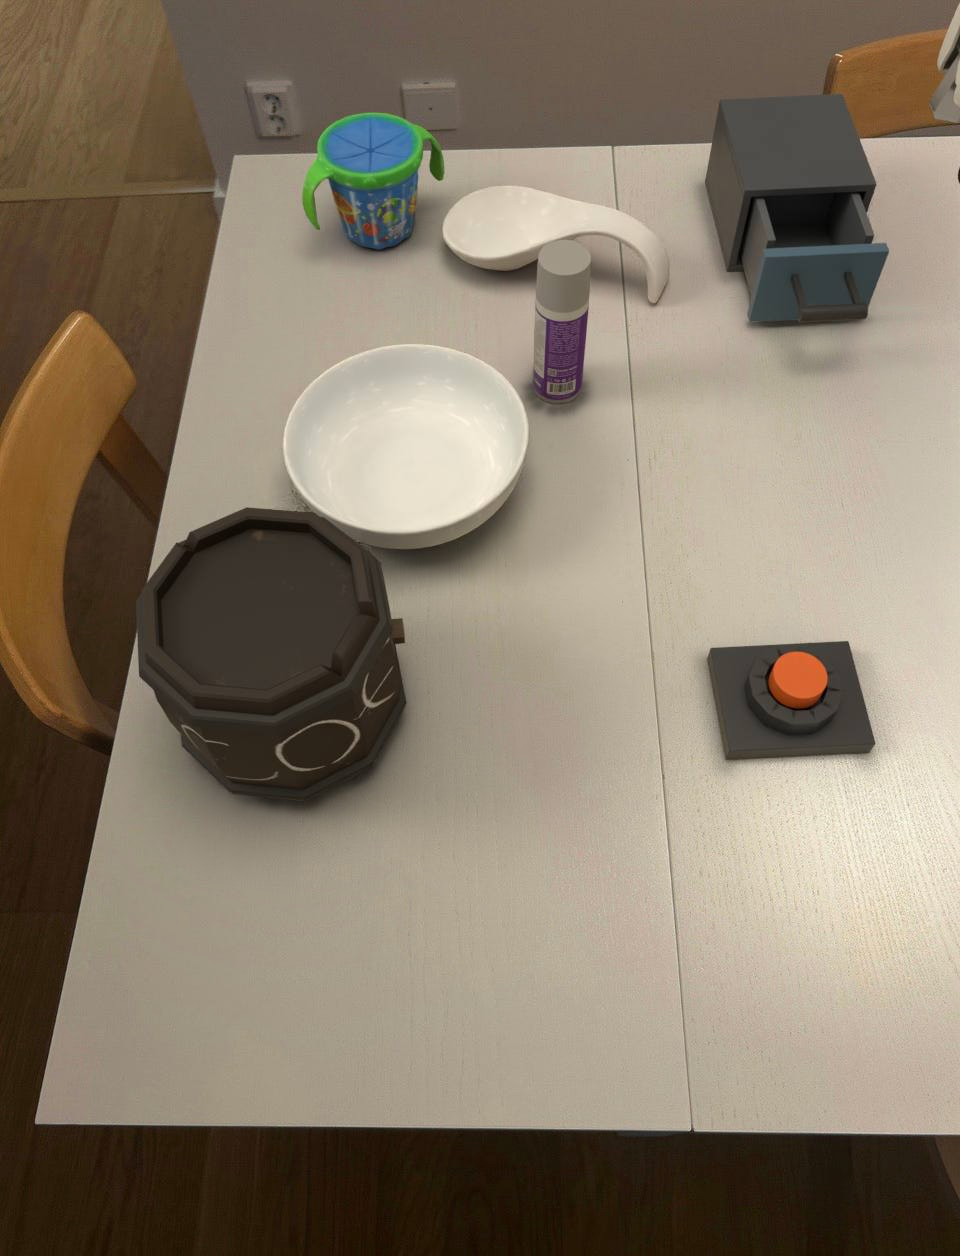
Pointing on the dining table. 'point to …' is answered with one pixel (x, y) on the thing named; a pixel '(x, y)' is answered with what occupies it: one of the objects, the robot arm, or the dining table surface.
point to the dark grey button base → (774, 728)
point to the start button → (798, 680)
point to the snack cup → (372, 176)
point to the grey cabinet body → (780, 158)
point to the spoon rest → (542, 230)
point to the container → (561, 320)
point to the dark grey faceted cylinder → (273, 652)
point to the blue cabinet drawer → (810, 257)
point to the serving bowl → (407, 445)
